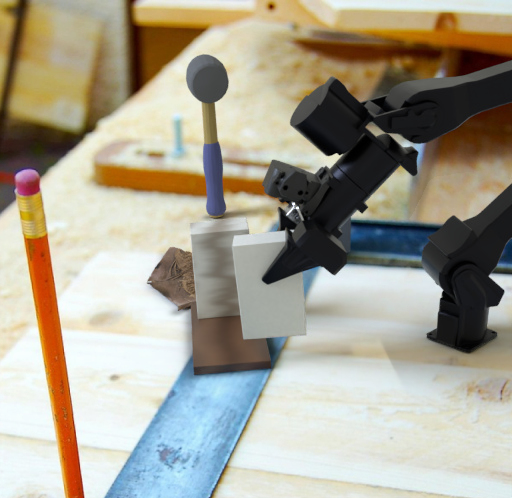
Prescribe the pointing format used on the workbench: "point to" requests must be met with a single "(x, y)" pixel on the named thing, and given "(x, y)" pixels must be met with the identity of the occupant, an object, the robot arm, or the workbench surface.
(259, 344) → the marble panel stand
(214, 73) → the rubber mallet
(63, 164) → the workbench surface
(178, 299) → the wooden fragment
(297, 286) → the white rectangular block
